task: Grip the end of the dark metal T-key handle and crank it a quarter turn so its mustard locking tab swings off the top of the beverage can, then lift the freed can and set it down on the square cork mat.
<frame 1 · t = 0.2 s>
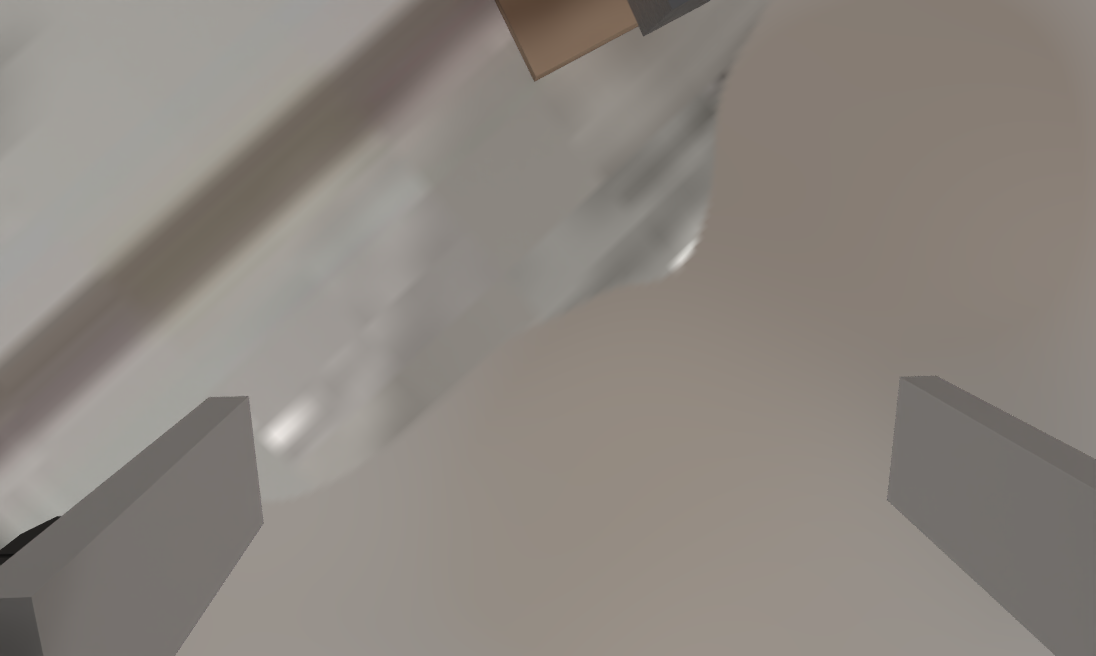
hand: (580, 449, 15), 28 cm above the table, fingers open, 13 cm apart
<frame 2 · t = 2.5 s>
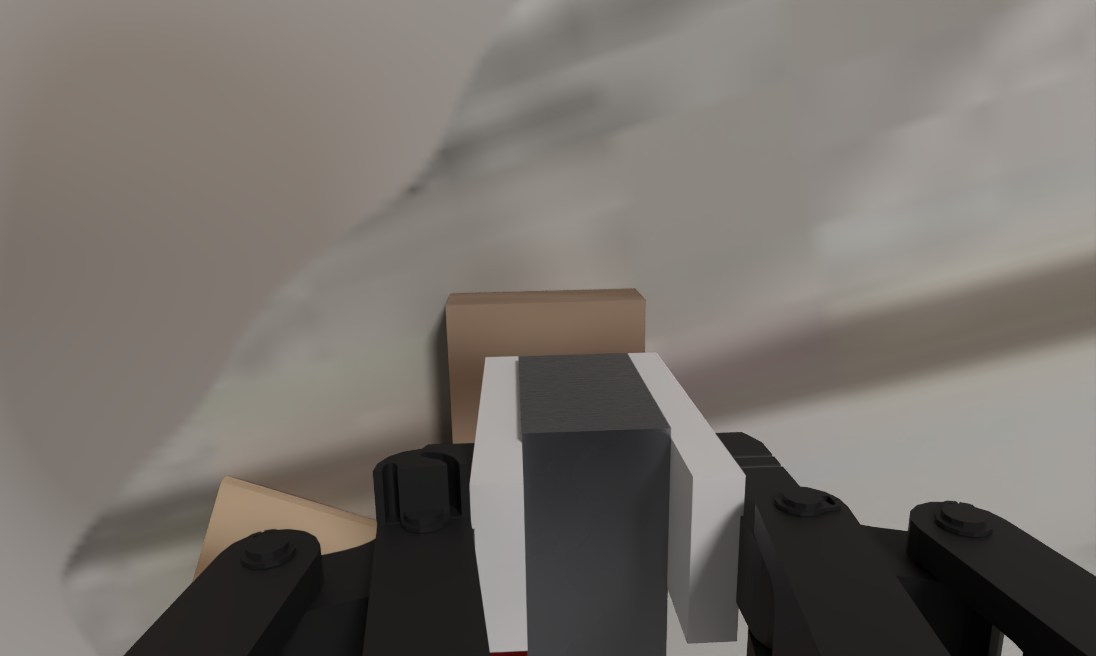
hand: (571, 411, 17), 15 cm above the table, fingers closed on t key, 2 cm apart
t key: (564, 576, 22), point 11 cm above the table, hinge at 0.0°, touching gripper
latch housing: (545, 379, 32), on the table
mat: (312, 611, 34), on the table
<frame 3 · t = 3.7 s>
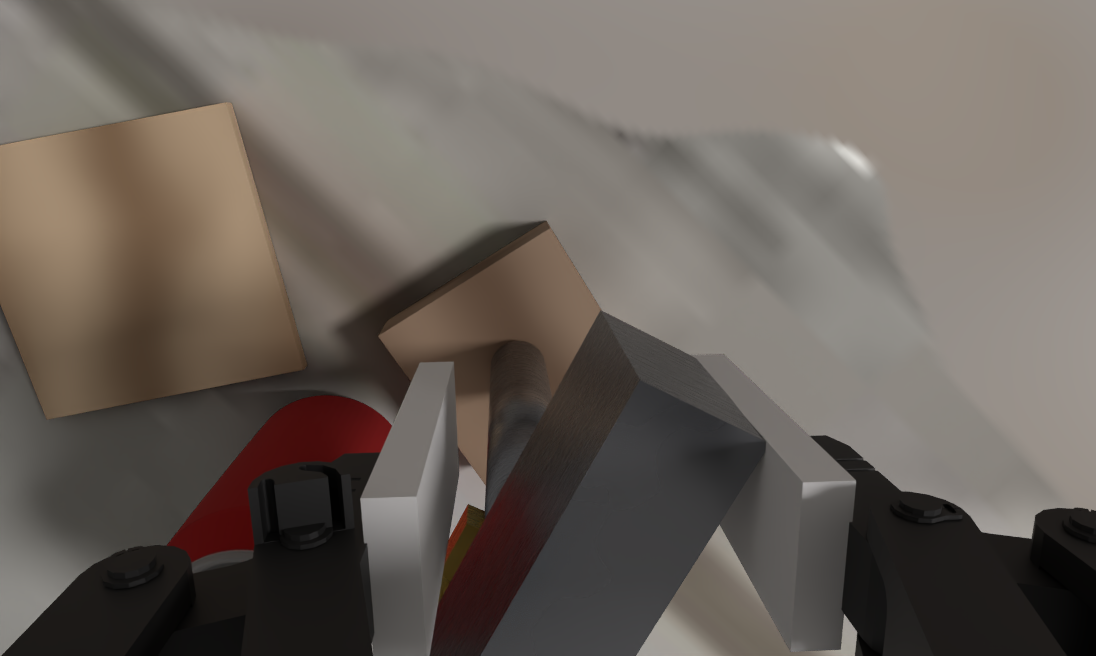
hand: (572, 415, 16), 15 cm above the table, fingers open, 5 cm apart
beverage can: (335, 456, 33), on the table
t key: (484, 534, 21), point 11 cm above the table, hinge at 30.7°, touching gripper
latch housing: (516, 347, 32), on the table
mat: (139, 266, 30), on the table
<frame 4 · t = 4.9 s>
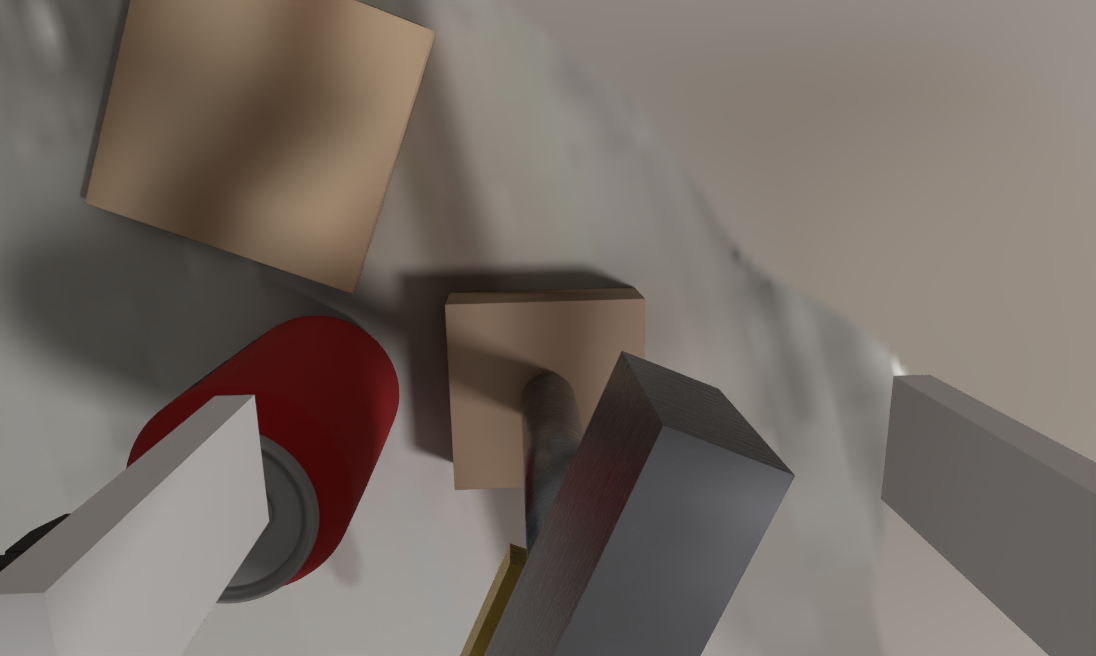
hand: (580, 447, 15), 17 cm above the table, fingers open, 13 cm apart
beverage can: (326, 384, 32), on the table
t key: (528, 570, 22), point 11 cm above the table, hinge at 66.2°
latch housing: (544, 378, 32), on the table
mat: (261, 119, 29), on the table
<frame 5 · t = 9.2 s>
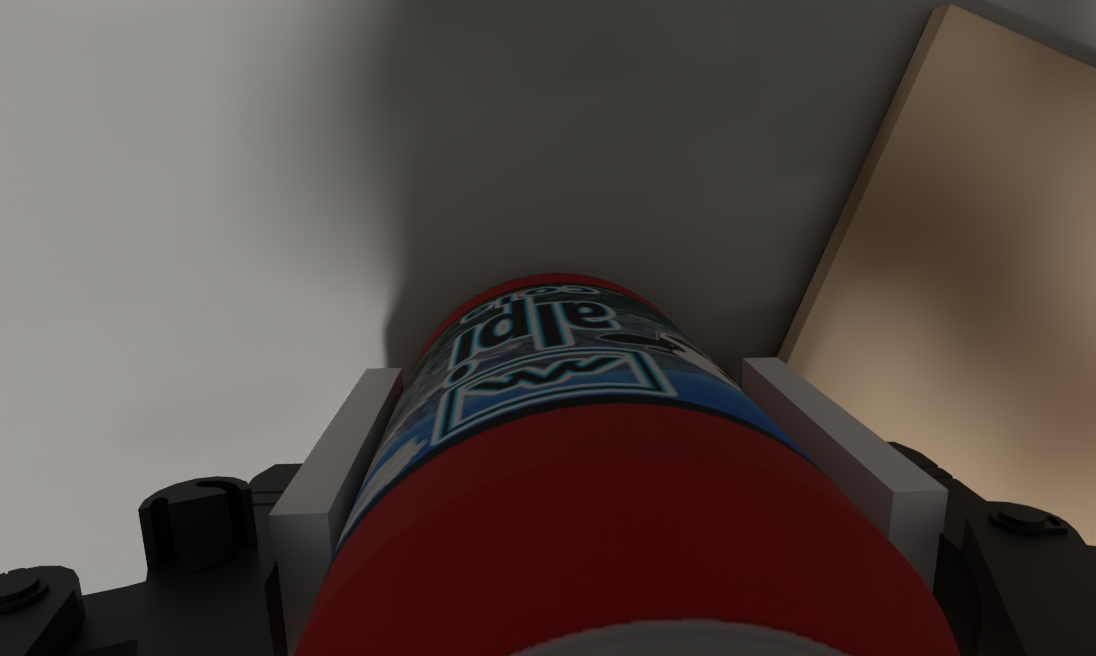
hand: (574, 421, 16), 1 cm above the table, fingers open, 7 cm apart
beverage can: (552, 405, 17), on the table, touching gripper
mat: (1028, 331, 17), on the table
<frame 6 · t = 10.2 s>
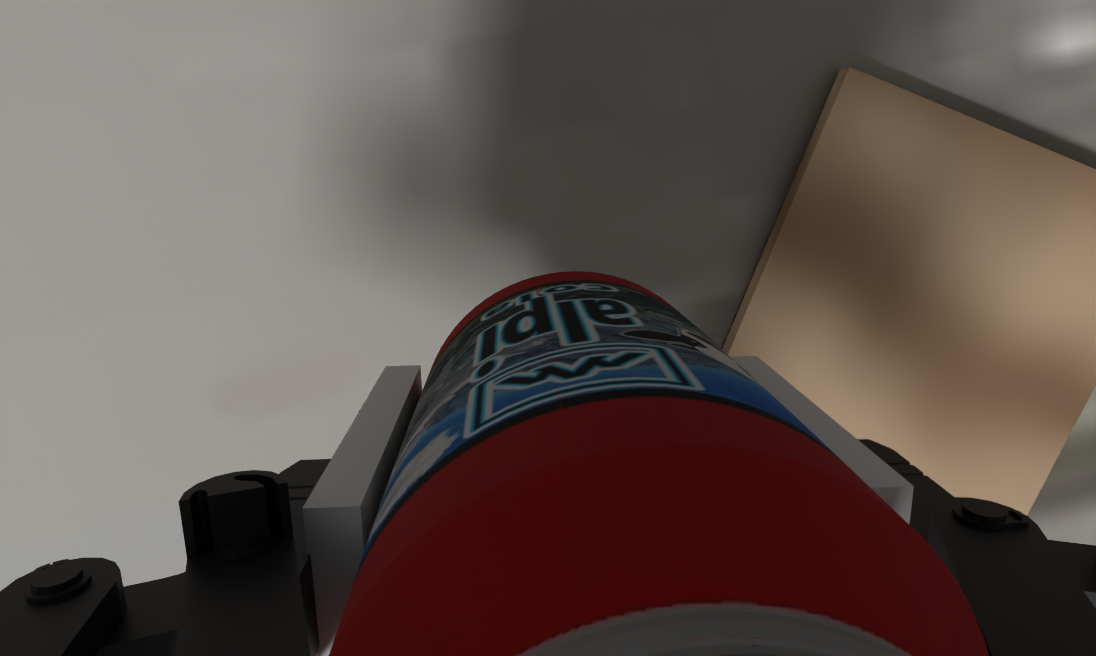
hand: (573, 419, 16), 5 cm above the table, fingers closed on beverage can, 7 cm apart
beverage can: (568, 402, 17), point 4 cm above the table, touching gripper
mat: (926, 318, 22), on the table
when the fingers open (2 cm above the table, at t = 14.8 s): beverage can stays where it is, resting on mat.
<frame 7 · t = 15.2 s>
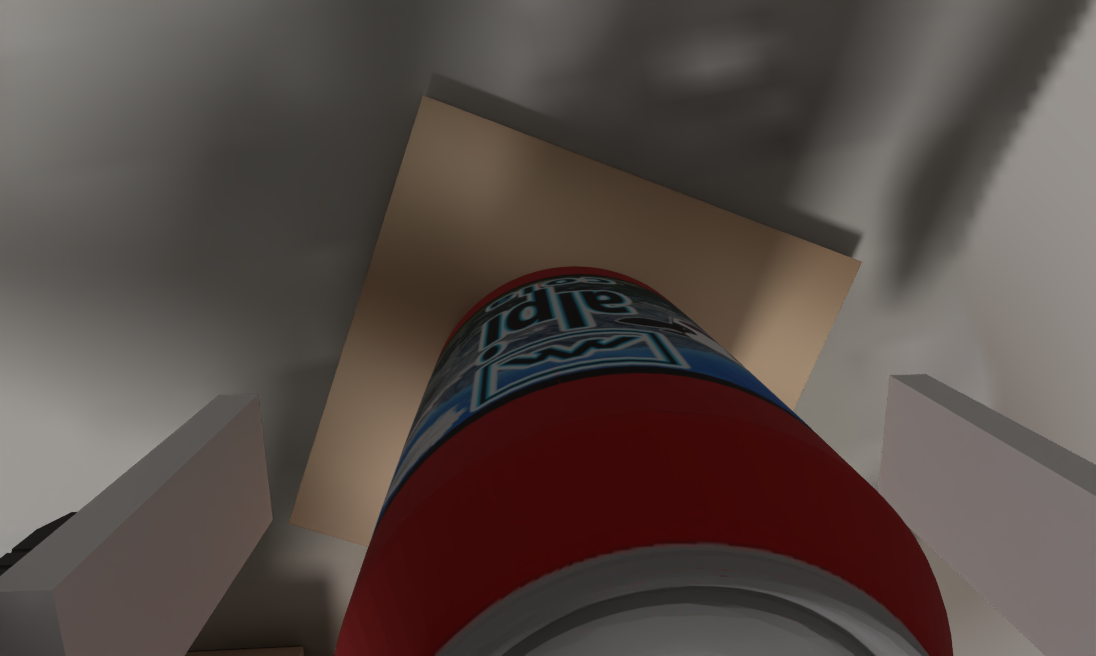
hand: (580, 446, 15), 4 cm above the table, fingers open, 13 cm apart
beverage can: (569, 392, 18), resting on mat
mat: (566, 388, 18), on the table
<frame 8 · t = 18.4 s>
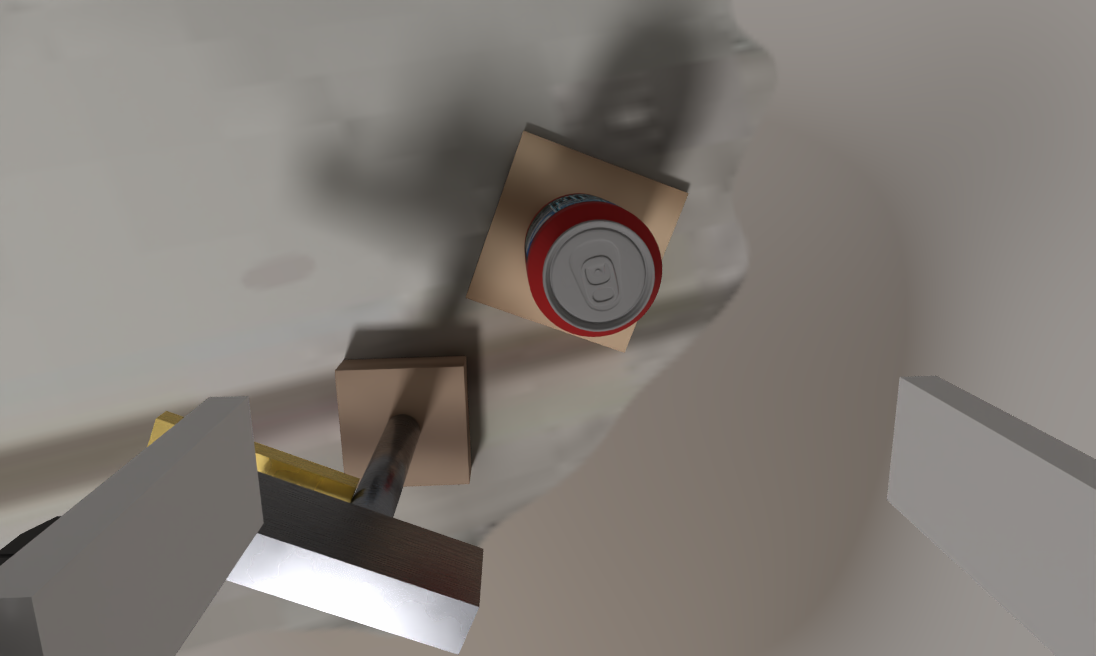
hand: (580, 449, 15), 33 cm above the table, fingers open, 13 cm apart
beverage can: (576, 245, 46), resting on mat
t key: (330, 475, 37), point 11 cm above the table, hinge at 66.3°
latch housing: (409, 415, 49), on the table
mat: (575, 244, 46), on the table
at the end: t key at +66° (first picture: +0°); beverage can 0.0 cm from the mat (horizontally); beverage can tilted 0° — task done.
